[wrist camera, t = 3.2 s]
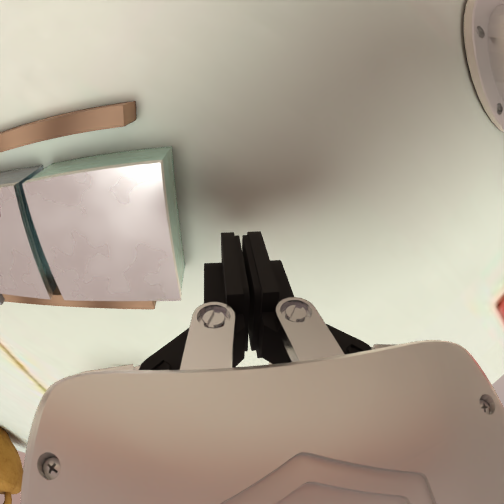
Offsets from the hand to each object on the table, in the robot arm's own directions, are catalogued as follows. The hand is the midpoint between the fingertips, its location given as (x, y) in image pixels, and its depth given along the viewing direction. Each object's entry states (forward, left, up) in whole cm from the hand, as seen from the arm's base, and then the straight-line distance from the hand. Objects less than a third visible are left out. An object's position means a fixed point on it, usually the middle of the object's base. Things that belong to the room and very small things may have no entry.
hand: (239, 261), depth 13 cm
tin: (+7, 0, -5) cm, 9 cm away
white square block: (+15, 0, -5) cm, 16 cm away
